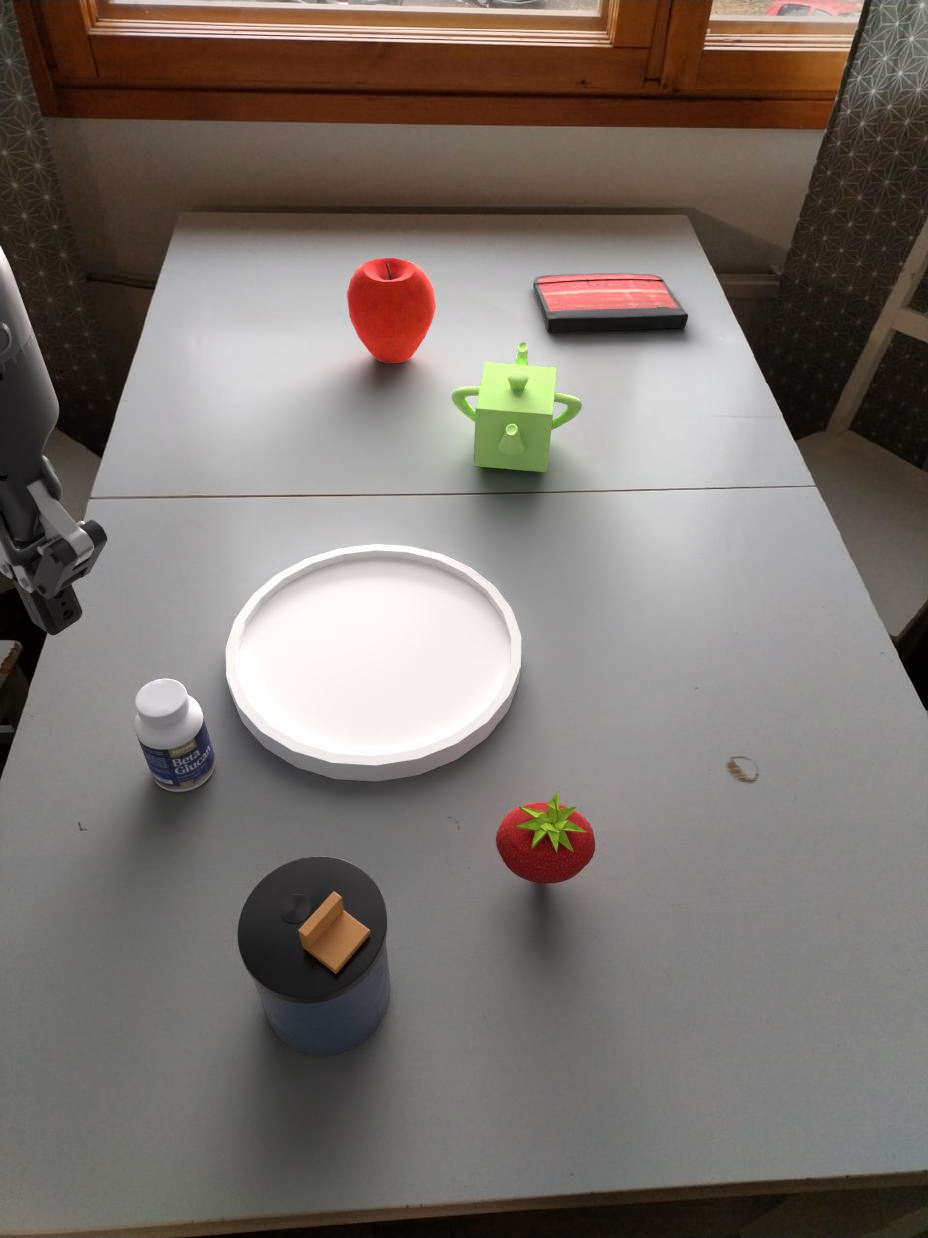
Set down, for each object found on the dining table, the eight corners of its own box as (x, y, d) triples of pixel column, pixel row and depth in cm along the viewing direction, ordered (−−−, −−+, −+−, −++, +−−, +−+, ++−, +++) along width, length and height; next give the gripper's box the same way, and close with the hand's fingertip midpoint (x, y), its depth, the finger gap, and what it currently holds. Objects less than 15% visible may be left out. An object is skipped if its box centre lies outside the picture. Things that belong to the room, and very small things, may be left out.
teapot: (518, 406, 117) (524, 331, 110) (594, 452, 111) (605, 376, 103) (430, 450, 110) (430, 374, 102) (506, 503, 103) (511, 425, 96)
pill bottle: (187, 804, 75) (161, 735, 68) (139, 776, 77) (109, 706, 69) (229, 758, 78) (209, 688, 71) (183, 733, 80) (158, 661, 73)
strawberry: (492, 840, 73) (499, 771, 66) (584, 844, 73) (601, 775, 66) (491, 908, 69) (498, 842, 62) (589, 912, 69) (606, 847, 62)
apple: (431, 332, 130) (430, 241, 120) (440, 375, 122) (440, 281, 112) (349, 336, 129) (342, 244, 119) (353, 380, 121) (346, 285, 111)
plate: (168, 667, 85) (162, 650, 83) (375, 526, 100) (374, 509, 98) (377, 842, 73) (375, 826, 71) (578, 651, 88) (581, 634, 86)
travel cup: (234, 1002, 64) (205, 936, 56) (324, 904, 69) (309, 830, 61) (331, 1089, 60) (315, 1030, 52) (419, 977, 65) (416, 909, 57)
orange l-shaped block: (302, 947, 55) (297, 930, 54) (336, 908, 57) (333, 890, 55) (336, 975, 54) (332, 958, 52) (370, 934, 56) (368, 917, 54)
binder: (689, 313, 131) (548, 318, 129) (686, 328, 132) (546, 333, 131) (660, 269, 142) (530, 272, 140) (658, 283, 144) (529, 287, 142)
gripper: (-239, 319, 38) (-70, 607, 50) (-61, 432, 32) (78, 723, 45) (-73, 258, 42) (45, 537, 54) (109, 349, 36) (193, 636, 49)
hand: (60, 621), depth 49 cm, fingers closed
